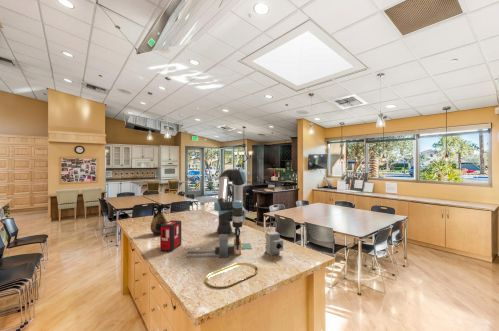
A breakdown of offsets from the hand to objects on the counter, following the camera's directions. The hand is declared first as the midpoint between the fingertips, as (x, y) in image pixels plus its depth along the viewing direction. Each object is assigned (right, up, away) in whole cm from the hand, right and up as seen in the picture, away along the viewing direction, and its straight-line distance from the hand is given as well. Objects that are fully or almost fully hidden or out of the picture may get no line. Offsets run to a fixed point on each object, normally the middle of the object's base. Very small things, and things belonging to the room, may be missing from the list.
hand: (237, 252), depth 172 cm
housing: (-22, -1, -2) cm, 22 cm away
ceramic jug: (-78, -1, +46) cm, 91 cm away
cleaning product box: (-54, -1, +11) cm, 55 cm away
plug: (-6, -1, -1) cm, 6 cm away
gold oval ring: (-1, -2, -34) cm, 34 cm away
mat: (0, -1, +14) cm, 14 cm away
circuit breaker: (+28, -1, -1) cm, 28 cm away
